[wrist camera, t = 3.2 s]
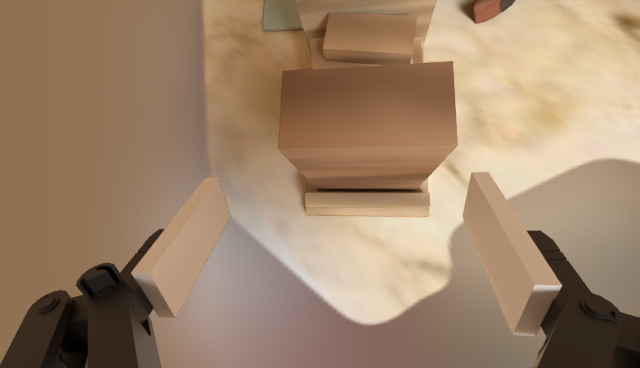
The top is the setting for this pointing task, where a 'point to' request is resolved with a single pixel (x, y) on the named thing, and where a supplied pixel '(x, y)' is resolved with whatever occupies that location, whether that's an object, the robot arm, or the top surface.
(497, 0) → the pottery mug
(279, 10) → the felt mat
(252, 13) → the top surface
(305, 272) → the top surface
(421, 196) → the rack
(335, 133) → the brown rectangular block
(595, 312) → the robot arm
